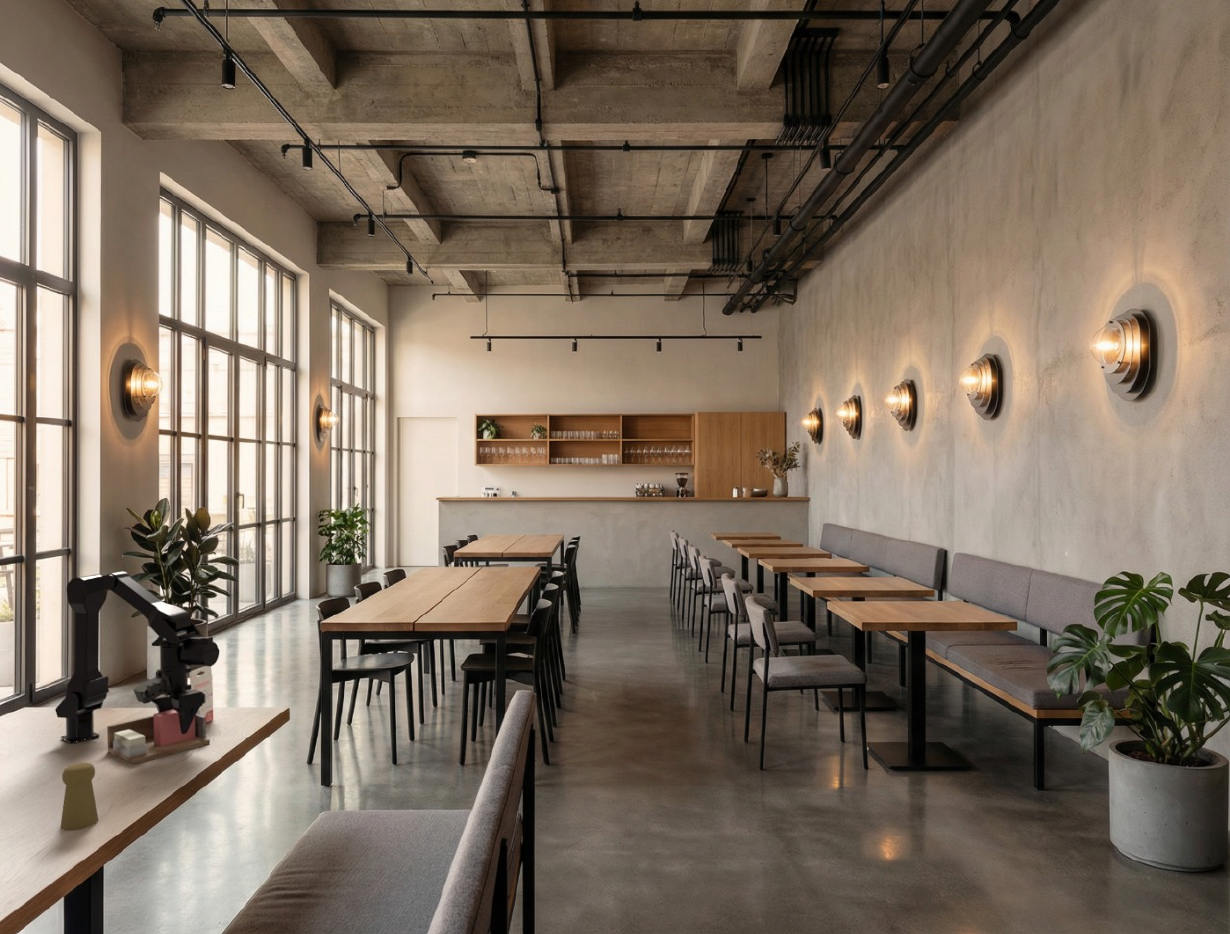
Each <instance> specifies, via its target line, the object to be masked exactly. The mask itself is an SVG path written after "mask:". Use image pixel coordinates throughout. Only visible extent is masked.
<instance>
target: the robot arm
mask: <svg viewBox="0 0 1230 934" xmlns="http://www.w3.org/2000/svg"><path fill="white" fill-rule="evenodd" d="M108 591H111V592H113V593H114V594H115V595H116V596H118V597H119V598H120V599H121V600H123V601H124V602H126V604H128V605H130V606H131V607H132V608H133V609H135V610H136V611H137V612H139V613H140V614H141V615H142V616H144V617H145V618H146V619H147V622H148V623H147V624H148V626H149V627H150V629H151V630H152V631H154V633H155V634H156V635H157V636H158V637H157V638H156V639H155V640H154V641H153V642H152V643H151V646H152V647H159V651H160V652H159V655H160V657H159V658H160V661H159V662H160V663H159V664H160V667H159V668H160V669H157V670H156V671H155V677H153V678H151V679H148V680H147V681H144V682H142V683H141V684H139V685H138V686H137V685H136V686H135V687H134V688H133V689H132V691H133V692H134V695H135V697H136V699H137V701H138V703H140V702H141V703H142V704H145V705H146V704H149V703H152V704H153V705H155V707H156V709H157V713H160V712H164V711H168V710H175V711H176V712H177V713H178V716H179V723H180V729H181V733H182V734H186V733H187V732H188V730H189V727H190V725H191V723H192V721H193V719H194V717H195V715H196V713H197V712H198V710H199V708H200V707H201V706H202V705H203V704H204V703H206V698H205V694H204V693H203V692H201V691H198V690H195V689H194V690H190V689H191V685H190V684H188V678H189V674H188V673H189V672H191V671H192V667H204V666H211V667H213V666H214V665H215V664H216V663H217V661H218V660H219V657H220V649H219V646H218V644H217V643H216V642H215V641H214V637H213V636H202V633H201V631H200V630H199V629H198V628H197V626H196V624H195V623H194V621H193V620H192V619H191V618H192V616H191V614H190V613H189V611H187V610H185V609H183V608H181V607H179V606H178V605H173V604H169V603H166V602H164V601H162V600H161V599H160V598H158V597H157V596H155V595H154V594H153V593H152V592H150V591H149V590H148V589H146V588H145V587H143V586H142V585H141V584H140V583H139V582H137V581H136V580H134V579H133V578H132V577H131V576H130V574H129V573H128V572H127V571H117V572H115V571H114V572H111V573H107V574H106V575H102V574H99V573H95V574H91V575H90V574H89V575H84V576H77V577H74V578H72V579H70V581H69V582H67V585H66V597H67V602H68V605H69V607H70V608H71V609H72V610H73V612H74V614H75V615H74V616H75V617H74V621H75V622H74V673H73V675H72V676H71V677H70V679H69V682H68V683H67V686H66V692H65V698H64V699H62V701H61V702H60V703H59V704H58V705H57V706H56V708H55V709H54V712H55V714H56V716H57V718H63V719H65V735H62V736H60V739H61V738H62V739H65V740H66V741H68V742H70V743H69V744H74V743H73V742H75V743H77V742H76V741H80V742H82V741H81V740H84V739H88V740H90V739H89V738H92V739H95V738H99V737H100V736H101V735H100V733H97V732H95V729H94V726H95V725H94V724H95V723H94V722H95V721H94V718H95V717H94V711H97V710H100V709H102V707H103V705H104V701H105V700H106V698H107V695H108V693H110V690H109V681H110V680H109V679H110V678H109V676H107V675H106V676H104V674H102V672H101V671H100V669H99V655H100V654H99V653H100V652H99V650H100V649H99V647H100V642H99V641H100V640H99V639H100V610H101V609H102V607H103V605H104V604H105V602H106V600H107V596H108ZM190 666H192V667H190ZM186 690H190V691H186ZM62 739H61V740H62ZM66 741H65V742H66ZM84 741H85V740H84ZM68 742H67V743H68Z"/></svg>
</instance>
